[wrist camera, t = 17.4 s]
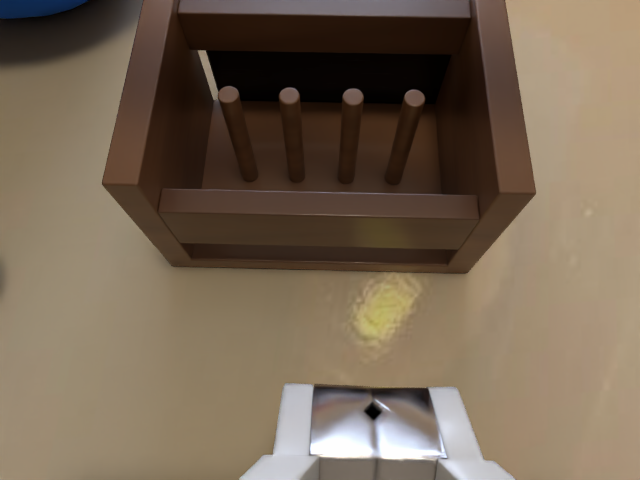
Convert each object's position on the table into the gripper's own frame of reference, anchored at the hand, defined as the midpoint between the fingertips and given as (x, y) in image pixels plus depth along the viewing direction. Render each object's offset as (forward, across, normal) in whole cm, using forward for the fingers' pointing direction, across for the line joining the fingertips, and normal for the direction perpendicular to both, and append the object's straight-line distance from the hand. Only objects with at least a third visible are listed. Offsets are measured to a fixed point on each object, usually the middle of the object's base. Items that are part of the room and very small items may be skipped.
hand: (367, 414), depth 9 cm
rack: (+17, +1, +1) cm, 17 cm away
